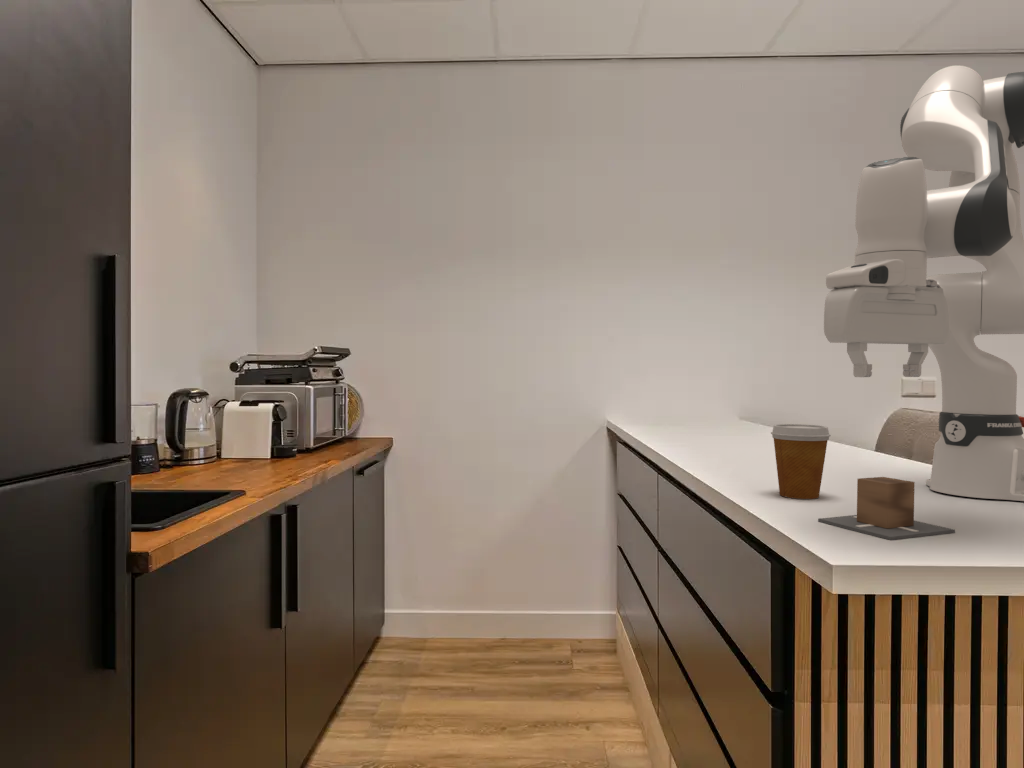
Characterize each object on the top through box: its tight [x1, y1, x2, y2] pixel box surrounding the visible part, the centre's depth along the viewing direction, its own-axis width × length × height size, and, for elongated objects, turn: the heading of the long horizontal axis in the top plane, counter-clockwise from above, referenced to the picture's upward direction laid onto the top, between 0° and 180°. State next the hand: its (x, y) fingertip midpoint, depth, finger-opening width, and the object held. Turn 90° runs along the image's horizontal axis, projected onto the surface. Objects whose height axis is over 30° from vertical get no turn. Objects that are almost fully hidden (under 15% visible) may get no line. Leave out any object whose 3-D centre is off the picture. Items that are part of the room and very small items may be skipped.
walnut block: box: [856, 476, 916, 529], centre depth 101 cm, size 5×5×6 cm
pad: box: [817, 514, 956, 541], centre depth 101 cm, size 12×12×1 cm
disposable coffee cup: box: [770, 423, 831, 500], centre depth 125 cm, size 10×10×12 cm
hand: (887, 377), depth 101 cm, fingers open, 8 cm apart
